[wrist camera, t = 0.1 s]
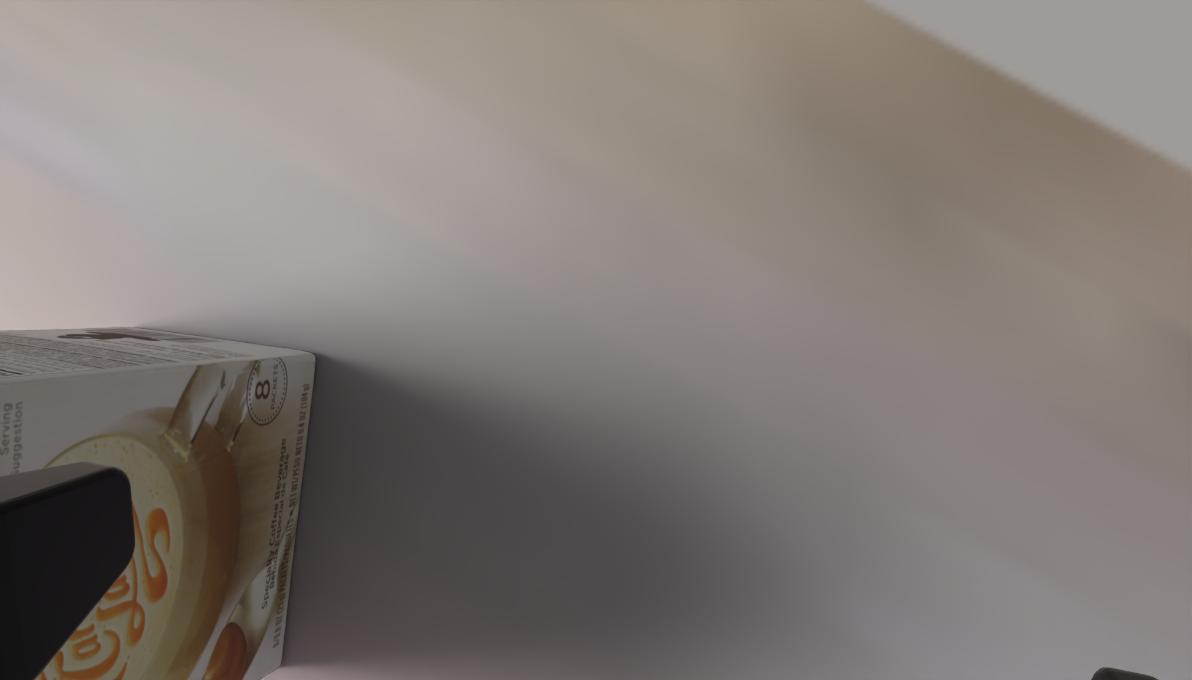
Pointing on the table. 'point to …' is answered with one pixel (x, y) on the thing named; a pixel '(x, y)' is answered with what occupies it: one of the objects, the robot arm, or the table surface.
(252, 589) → the coffee box
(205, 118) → the table surface
